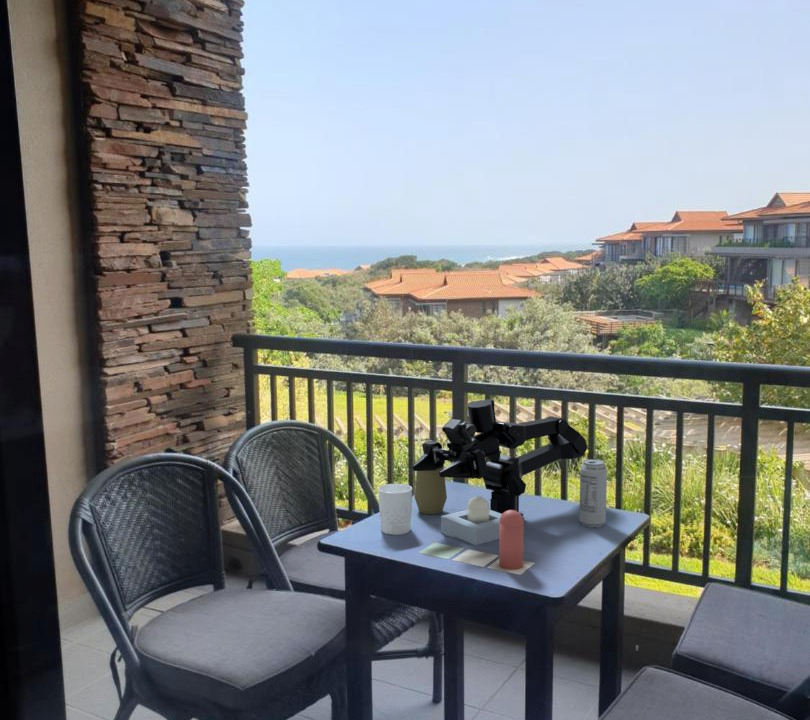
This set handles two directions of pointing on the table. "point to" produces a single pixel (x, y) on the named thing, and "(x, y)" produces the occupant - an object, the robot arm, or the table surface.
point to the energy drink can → (593, 493)
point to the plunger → (478, 510)
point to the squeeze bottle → (430, 491)
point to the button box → (471, 527)
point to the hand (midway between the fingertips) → (426, 471)
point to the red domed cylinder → (511, 540)
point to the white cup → (395, 508)
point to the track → (470, 557)
